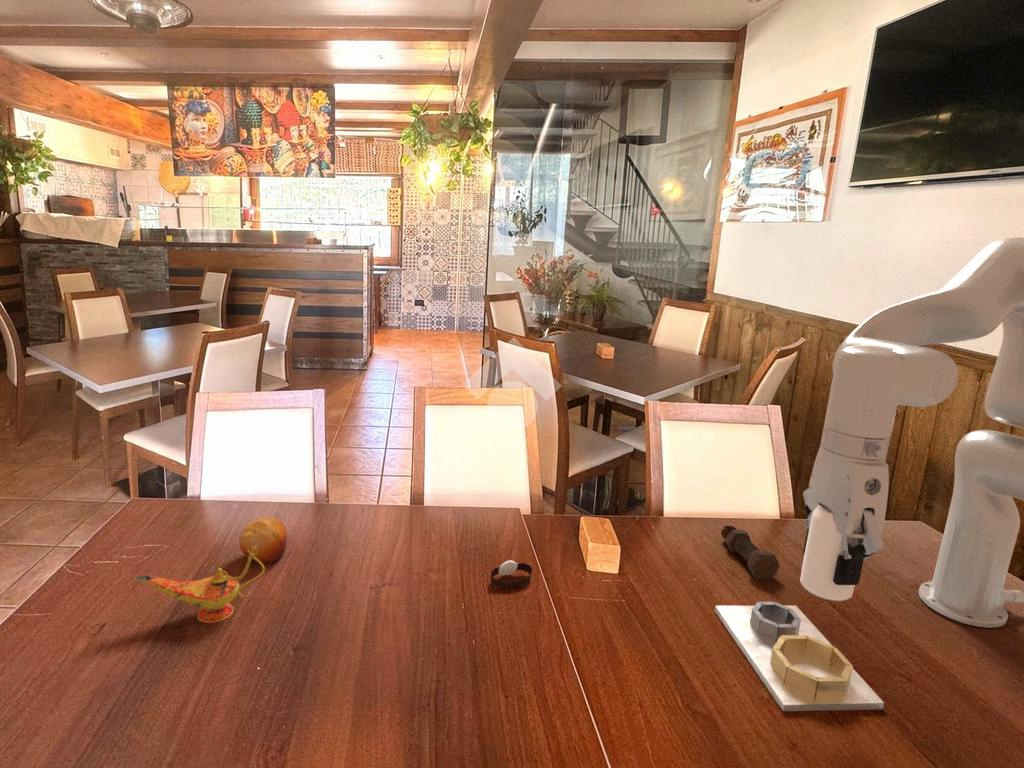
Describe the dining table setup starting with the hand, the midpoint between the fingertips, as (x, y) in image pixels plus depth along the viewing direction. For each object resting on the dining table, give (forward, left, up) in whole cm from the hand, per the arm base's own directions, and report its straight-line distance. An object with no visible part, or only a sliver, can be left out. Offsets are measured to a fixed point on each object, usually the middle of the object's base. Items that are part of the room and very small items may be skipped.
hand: (829, 568), depth 83 cm
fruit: (+84, -33, -18) cm, 92 cm away
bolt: (-6, -33, -18) cm, 38 cm away
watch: (+40, -25, -18) cm, 50 cm away
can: (0, 0, -3) cm, 3 cm away
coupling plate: (0, -5, -17) cm, 18 cm away
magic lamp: (+88, -16, -18) cm, 91 cm away
